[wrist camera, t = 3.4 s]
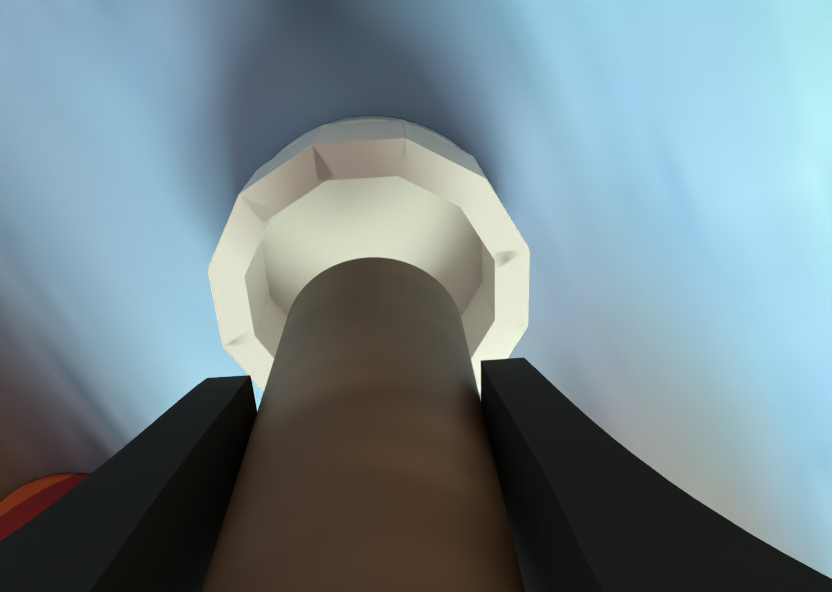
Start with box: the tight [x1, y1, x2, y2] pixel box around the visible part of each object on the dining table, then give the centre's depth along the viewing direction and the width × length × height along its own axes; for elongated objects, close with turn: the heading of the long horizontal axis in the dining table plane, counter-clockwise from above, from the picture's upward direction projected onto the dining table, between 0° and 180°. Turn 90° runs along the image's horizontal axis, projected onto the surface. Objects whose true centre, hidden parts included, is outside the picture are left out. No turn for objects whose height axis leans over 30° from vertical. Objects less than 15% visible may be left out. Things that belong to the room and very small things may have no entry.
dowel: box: [201, 257, 525, 592], centre depth 8 cm, size 3×3×8 cm
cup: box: [207, 116, 530, 393], centre depth 15 cm, size 6×6×3 cm
